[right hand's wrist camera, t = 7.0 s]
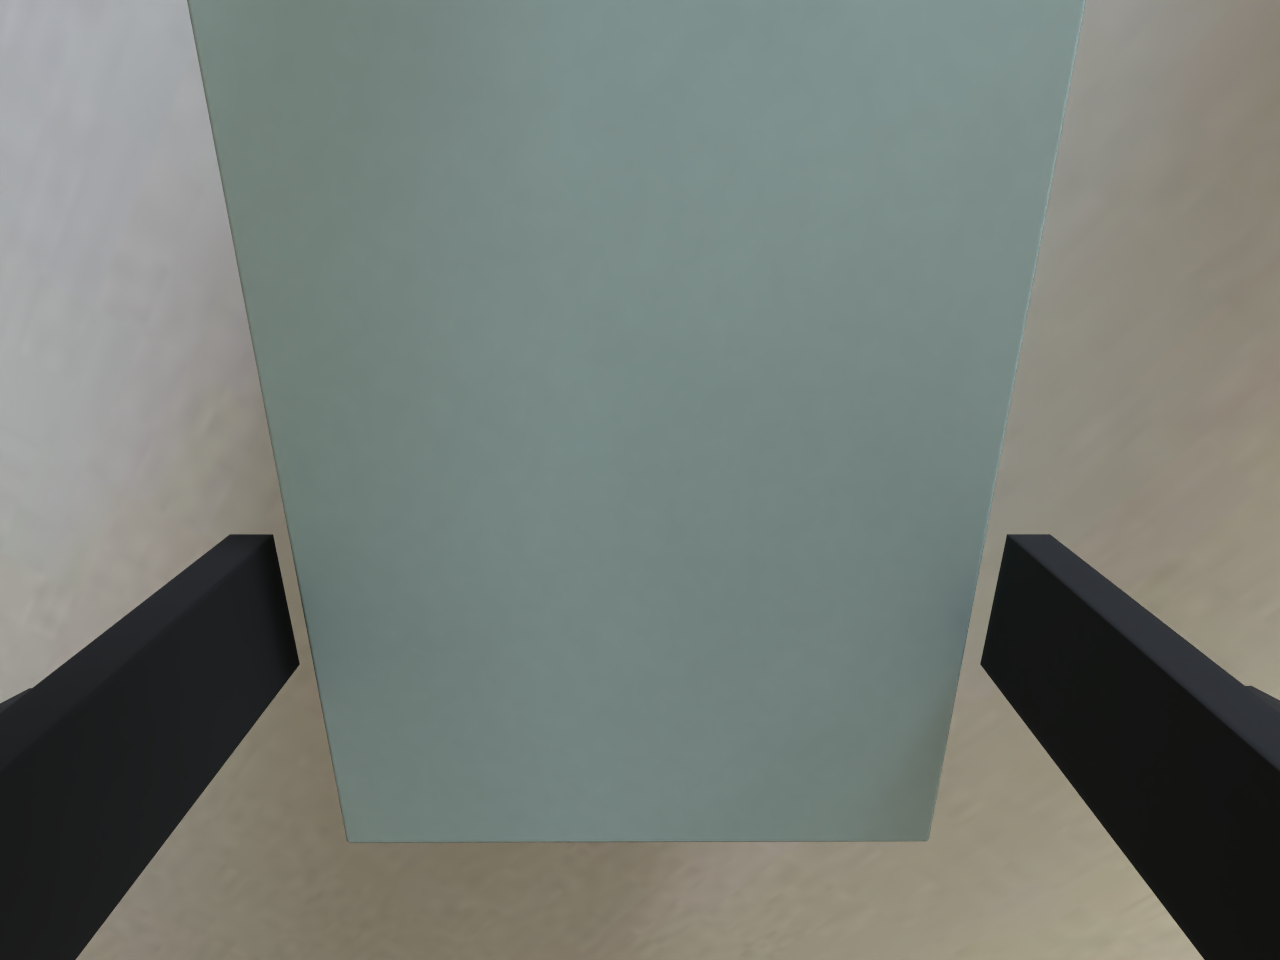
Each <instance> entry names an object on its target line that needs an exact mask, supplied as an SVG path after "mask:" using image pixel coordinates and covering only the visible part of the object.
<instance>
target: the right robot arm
mask: <svg viewBox="0 0 1280 960" xmlns="http://www.w3.org/2000/svg"><path fill="white" fill-rule="evenodd" d="M298 666H299V659H298V654H297V649H296V644H295V640H294V635H293V630H292V625H291V620H290V615H289V610H288V606H287V601H286V596H285V591H284V586H283V581H282V576H281V572H280V567H279V562H278V557H277V552H276V547H275V542H274V537H273V535H229V536H228V537H226V538H225V539H224V540H222V541H221V542H220V543H219V544H217V545H216V546H215V547H213V548H212V549H211V550H210V551H208V552H207V553H206V554H204V555H203V556H202V557H201V558H199V559H198V560H197V561H195V562H194V563H193V564H192V565H190V566H189V567H188V568H186V569H185V570H184V571H183V572H181V573H180V574H179V575H177V576H176V577H175V578H174V579H172V580H171V581H170V582H168V583H167V584H166V585H165V586H163V587H162V588H161V589H159V590H158V591H157V592H156V593H154V594H153V595H152V596H150V597H149V598H148V599H147V600H145V601H144V602H143V603H141V604H140V605H139V606H138V607H136V608H135V609H134V610H132V611H131V612H130V613H129V614H127V615H126V616H125V617H123V618H122V619H121V620H120V621H118V622H117V623H116V624H114V625H113V626H112V627H111V628H109V629H108V630H107V631H105V632H104V633H103V634H102V635H100V636H99V637H98V638H96V639H95V640H94V641H93V642H91V643H90V644H89V645H87V646H86V647H85V648H84V649H82V650H81V651H80V652H78V653H77V654H76V655H75V656H73V657H72V658H71V659H69V660H68V661H67V662H66V663H64V664H63V665H62V666H60V667H59V668H58V669H57V670H55V671H54V672H53V673H51V674H50V675H49V676H48V677H46V678H45V679H44V680H42V681H41V682H40V683H39V684H37V685H36V686H35V687H33V688H29V689H27V690H26V691H24V692H22V693H20V694H18V695H16V696H14V697H12V698H10V699H8V700H6V701H4V702H2V703H1V704H0V960H76V958H77V957H78V956H79V954H80V953H81V952H82V950H83V949H84V948H85V946H86V945H87V944H88V942H89V941H90V940H91V939H92V937H93V936H94V935H95V933H96V932H97V931H98V929H99V928H100V927H101V925H102V924H103V923H104V921H105V920H106V919H107V917H108V916H109V915H110V913H111V912H112V911H113V910H114V908H115V907H116V906H117V904H118V903H119V902H120V900H121V899H122V898H123V896H124V895H125V894H126V892H127V891H128V890H129V888H130V887H131V886H132V884H133V883H134V882H135V881H136V879H137V878H138V877H139V875H140V874H141V873H142V871H143V870H144V869H145V867H146V866H147V865H148V863H149V862H150V861H151V859H152V858H153V857H154V856H155V854H156V853H157V852H158V850H159V849H160V848H161V846H162V845H163V844H164V842H165V841H166V840H167V838H168V837H169V836H170V834H171V833H172V832H173V830H174V829H175V828H176V827H177V825H178V824H179V823H180V821H181V820H182V819H183V817H184V816H185V815H186V813H187V812H188V811H189V809H190V808H191V807H192V805H193V804H194V803H195V801H196V800H197V799H198V798H199V796H200V795H201V794H202V792H203V791H204V790H205V788H206V787H207V786H208V784H209V783H210V782H211V780H212V779H213V778H214V776H215V775H216V774H217V772H218V771H219V770H220V769H221V767H222V766H223V765H224V763H225V762H226V761H227V759H228V758H229V757H230V755H231V754H232V753H233V751H234V750H235V749H236V747H237V746H238V745H239V743H240V742H241V741H242V740H243V738H244V737H245V736H246V734H247V733H248V732H249V730H250V729H251V728H252V726H253V725H254V724H255V722H256V721H257V720H258V718H259V717H260V716H261V714H262V713H263V712H264V711H265V709H266V708H267V707H268V705H269V704H270V703H271V701H272V700H273V699H274V697H275V696H276V695H277V693H278V692H279V691H280V689H281V688H282V687H283V685H284V684H285V683H286V682H287V680H288V679H289V678H290V676H291V675H292V674H293V672H294V671H295V670H296V668H297V667H298ZM981 666H982V667H983V668H984V670H985V671H986V672H987V674H988V675H989V676H990V678H991V679H992V680H993V682H994V683H995V684H996V685H997V687H998V688H999V689H1000V691H1001V692H1002V693H1003V695H1004V696H1005V697H1006V699H1007V700H1008V701H1009V703H1010V704H1011V705H1012V707H1013V708H1014V709H1015V711H1016V712H1017V713H1018V714H1019V716H1020V717H1021V718H1022V720H1023V721H1024V722H1025V724H1026V725H1027V726H1028V728H1029V729H1030V730H1031V732H1032V733H1033V734H1034V736H1035V737H1036V738H1037V740H1038V741H1039V742H1040V743H1041V745H1042V746H1043V747H1044V749H1045V750H1046V751H1047V753H1048V754H1049V755H1050V757H1051V758H1052V759H1053V761H1054V762H1055V763H1056V765H1057V766H1058V767H1059V769H1060V770H1061V771H1062V772H1063V774H1064V775H1065V776H1066V778H1067V779H1068V780H1069V782H1070V783H1071V784H1072V786H1073V787H1074V788H1075V790H1076V791H1077V792H1078V794H1079V795H1080V796H1081V798H1082V799H1083V800H1084V801H1085V803H1086V804H1087V805H1088V807H1089V808H1090V809H1091V811H1092V812H1093V813H1094V815H1095V816H1096V817H1097V819H1098V820H1099V821H1100V823H1101V824H1102V825H1103V827H1104V828H1105V829H1106V830H1107V832H1108V833H1109V834H1110V836H1111V837H1112V838H1113V840H1114V841H1115V842H1116V844H1117V845H1118V846H1119V848H1120V849H1121V850H1122V852H1123V853H1124V854H1125V856H1126V857H1127V858H1128V859H1129V861H1130V862H1131V863H1132V865H1133V866H1134V867H1135V869H1136V870H1137V871H1138V873H1139V874H1140V875H1141V877H1142V878H1143V879H1144V881H1145V882H1146V883H1147V885H1148V886H1149V887H1150V888H1151V890H1152V891H1153V892H1154V894H1155V895H1156V896H1157V898H1158V899H1159V900H1160V902H1161V903H1162V904H1163V906H1164V907H1165V908H1166V910H1167V911H1168V912H1169V913H1170V915H1171V916H1172V917H1173V919H1174V920H1175V921H1176V923H1177V924H1178V925H1179V927H1180V928H1181V929H1182V931H1183V932H1184V933H1185V935H1186V936H1187V937H1188V939H1189V940H1190V941H1191V942H1192V944H1193V945H1194V946H1195V948H1196V949H1197V950H1198V952H1199V953H1200V954H1201V956H1202V957H1203V958H1204V960H1280V700H1278V699H1276V698H1274V697H1272V696H1270V695H1268V694H1266V693H1264V692H1262V691H1260V690H1258V689H1256V688H1254V687H1252V686H1244V685H1243V684H1241V683H1240V682H1239V681H1238V680H1236V679H1235V678H1234V677H1232V676H1231V675H1230V674H1229V673H1227V672H1226V671H1225V670H1223V669H1222V668H1221V667H1220V666H1218V665H1217V664H1216V663H1214V662H1213V661H1212V660H1211V659H1209V658H1208V657H1207V656H1205V655H1204V654H1203V653H1202V652H1200V651H1199V650H1198V649H1196V648H1195V647H1194V646H1193V645H1191V644H1190V643H1189V642H1187V641H1186V640H1185V639H1184V638H1182V637H1181V636H1180V635H1178V634H1177V633H1176V632H1175V631H1173V630H1172V629H1171V628H1169V627H1168V626H1167V625H1166V624H1164V623H1163V622H1162V621H1160V620H1159V619H1158V618H1157V617H1155V616H1154V615H1153V614H1151V613H1150V612H1149V611H1148V610H1146V609H1145V608H1144V607H1142V606H1141V605H1140V604H1139V603H1137V602H1136V601H1135V600H1133V599H1132V598H1131V597H1130V596H1128V595H1127V594H1126V593H1124V592H1123V591H1122V590H1121V589H1119V588H1118V587H1117V586H1115V585H1114V584H1113V583H1112V582H1110V581H1109V580H1108V579H1106V578H1105V577H1104V576H1103V575H1101V574H1100V573H1099V572H1097V571H1096V570H1095V569H1094V568H1092V567H1091V566H1090V565H1088V564H1087V563H1086V562H1085V561H1083V560H1082V559H1081V558H1079V557H1078V556H1077V555H1076V554H1074V553H1073V552H1072V551H1070V550H1069V549H1068V548H1067V547H1065V546H1064V545H1063V544H1061V543H1060V542H1059V541H1058V540H1056V539H1055V538H1054V537H1052V536H1051V535H1007V537H1006V542H1005V547H1004V552H1003V557H1002V562H1001V567H1000V572H999V576H998V581H997V586H996V591H995V596H994V601H993V606H992V610H991V615H990V620H989V625H988V630H987V635H986V640H985V644H984V649H983V654H982V659H981Z"/></svg>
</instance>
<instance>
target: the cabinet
mask: <svg viewBox="0 0 1280 960" xmlns="http://www.w3.org/2000/svg"><path fill="white" fill-rule="evenodd" d="M187 2H188V7H189V13H190V18H191V23H192V28H193V34H194V39H195V44H196V49H197V55H198V60H199V65H200V70H201V76H202V81H203V86H204V91H205V97H206V102H207V107H208V112H209V118H210V123H211V128H212V133H213V139H214V144H215V149H216V154H217V160H218V165H219V170H220V175H221V181H222V186H223V191H224V196H225V202H226V207H227V212H228V218H229V223H230V228H231V233H232V239H233V244H234V249H235V254H236V260H237V265H238V270H239V275H240V281H241V286H242V291H243V296H244V302H245V307H246V312H247V317H248V323H249V328H250V333H251V338H252V344H253V349H254V354H255V359H256V365H257V370H258V375H259V380H260V386H261V391H262V396H263V401H264V407H265V412H266V417H267V422H268V428H269V433H270V438H271V443H272V449H273V454H274V459H275V464H276V470H277V475H278V480H279V485H280V491H281V496H282V501H283V506H284V512H285V517H286V522H287V528H288V533H289V538H290V543H291V549H292V554H293V559H294V564H295V570H296V575H297V580H298V585H299V591H300V596H301V601H302V606H303V612H304V617H305V622H306V627H307V633H308V638H309V643H310V648H311V654H312V659H313V664H314V669H315V675H316V680H317V685H318V690H319V696H320V701H321V706H322V711H323V717H324V722H325V727H326V732H327V738H328V743H329V748H330V753H331V759H332V764H333V769H334V774H335V780H336V785H337V790H338V795H339V801H340V806H341V811H342V816H343V822H344V827H345V832H346V838H347V841H348V842H349V843H463V842H852V841H928V839H929V835H930V829H931V824H932V819H933V813H934V808H935V803H936V797H937V792H938V787H939V781H940V776H941V771H942V765H943V760H944V755H945V749H946V744H947V739H948V733H949V728H950V723H951V717H952V712H953V707H954V701H955V696H956V691H957V685H958V680H959V675H960V669H961V664H962V659H963V653H964V648H965V643H966V637H967V632H968V627H969V621H970V616H971V611H972V605H973V600H974V595H975V589H976V584H977V579H978V573H979V568H980V563H981V557H982V552H983V547H984V541H985V536H986V531H987V525H988V520H989V515H990V509H991V504H992V498H993V493H994V488H995V482H996V477H997V472H998V466H999V461H1000V456H1001V450H1002V445H1003V440H1004V434H1005V429H1006V424H1007V418H1008V413H1009V408H1010V402H1011V397H1012V392H1013V386H1014V381H1015V376H1016V370H1017V365H1018V360H1019V354H1020V349H1021V344H1022V338H1023V333H1024V328H1025V322H1026V317H1027V312H1028V306H1029V301H1030V296H1031V290H1032V285H1033V280H1034V274H1035V269H1036V264H1037V258H1038V253H1039V248H1040V242H1041V237H1042V232H1043V226H1044V221H1045V216H1046V210H1047V205H1048V200H1049V194H1050V189H1051V184H1052V178H1053V173H1054V168H1055V162H1056V157H1057V152H1058V146H1059V141H1060V136H1061V130H1062V125H1063V120H1064V114H1065V109H1066V104H1067V98H1068V93H1069V87H1070V82H1071V77H1072V71H1073V66H1074V61H1075V55H1076V50H1077V45H1078V39H1079V34H1080V29H1081V23H1082V18H1083V13H1084V7H1085V2H1086V0H187Z"/></svg>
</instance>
